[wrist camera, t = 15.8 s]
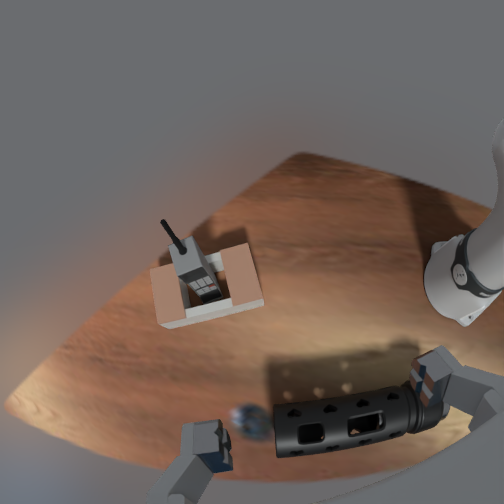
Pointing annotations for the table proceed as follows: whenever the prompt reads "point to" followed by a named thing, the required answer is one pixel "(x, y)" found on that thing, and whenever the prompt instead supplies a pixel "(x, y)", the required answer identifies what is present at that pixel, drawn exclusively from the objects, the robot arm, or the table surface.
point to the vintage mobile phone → (193, 267)
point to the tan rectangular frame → (180, 312)
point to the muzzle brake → (352, 420)
